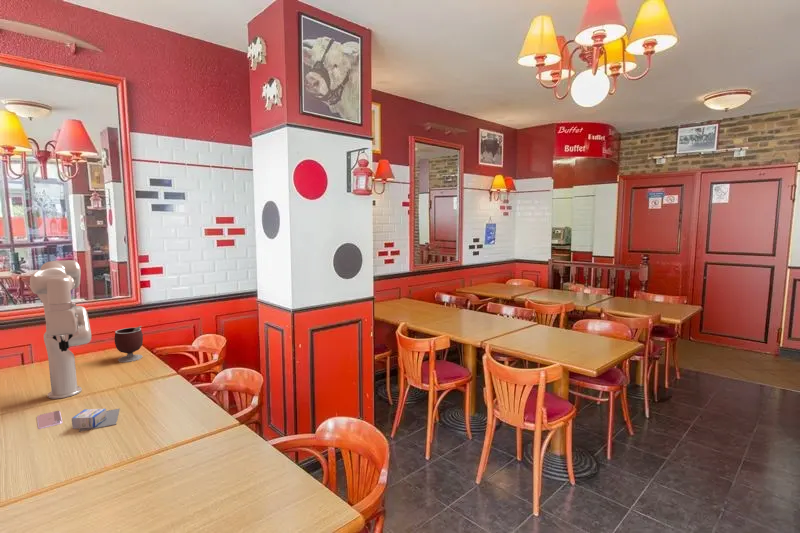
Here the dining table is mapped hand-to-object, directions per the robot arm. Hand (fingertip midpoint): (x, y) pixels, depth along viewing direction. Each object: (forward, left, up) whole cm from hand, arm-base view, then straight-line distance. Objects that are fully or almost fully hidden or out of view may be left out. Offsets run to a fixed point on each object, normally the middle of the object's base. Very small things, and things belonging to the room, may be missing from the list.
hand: (64, 350), depth 179 cm
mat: (+14, +12, -27) cm, 33 cm away
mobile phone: (+4, -6, -28) cm, 29 cm away
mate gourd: (-69, +18, -27) cm, 77 cm away
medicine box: (+15, +5, -25) cm, 29 cm away
